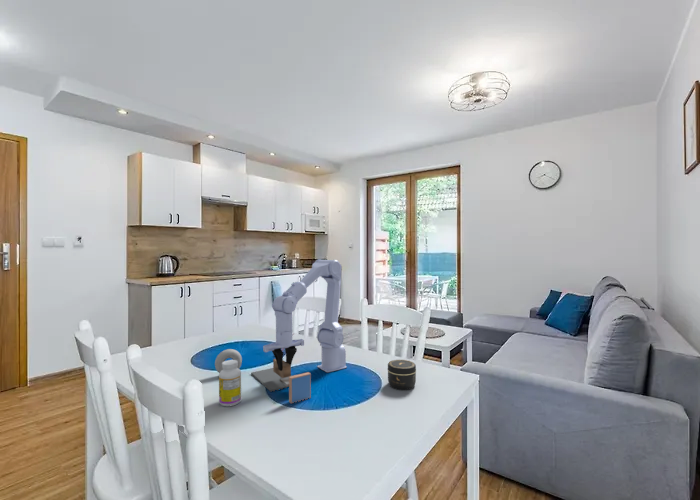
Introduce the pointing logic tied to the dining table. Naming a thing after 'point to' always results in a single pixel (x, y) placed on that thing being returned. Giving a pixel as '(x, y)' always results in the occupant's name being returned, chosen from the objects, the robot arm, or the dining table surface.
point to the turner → (283, 372)
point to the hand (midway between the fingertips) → (284, 368)
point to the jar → (401, 374)
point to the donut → (224, 355)
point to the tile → (299, 387)
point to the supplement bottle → (230, 383)
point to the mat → (269, 379)
